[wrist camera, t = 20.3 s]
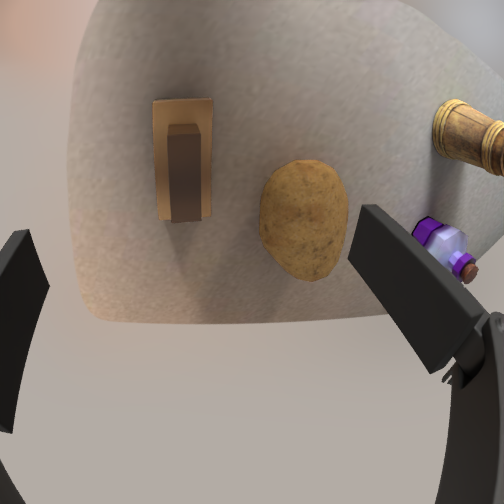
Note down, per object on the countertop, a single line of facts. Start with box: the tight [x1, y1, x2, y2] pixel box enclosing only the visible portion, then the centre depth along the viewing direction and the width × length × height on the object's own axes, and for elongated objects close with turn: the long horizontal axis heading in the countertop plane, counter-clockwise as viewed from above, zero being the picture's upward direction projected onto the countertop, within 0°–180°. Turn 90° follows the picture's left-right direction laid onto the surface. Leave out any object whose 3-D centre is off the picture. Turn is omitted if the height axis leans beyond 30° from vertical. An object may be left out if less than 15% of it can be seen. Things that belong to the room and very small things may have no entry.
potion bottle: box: [412, 216, 479, 284], centre depth 37 cm, size 9×9×12 cm
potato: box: [259, 160, 348, 282], centre depth 31 cm, size 10×14×8 cm
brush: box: [152, 97, 213, 223], centre depth 24 cm, size 11×5×8 cm, turn 177°
